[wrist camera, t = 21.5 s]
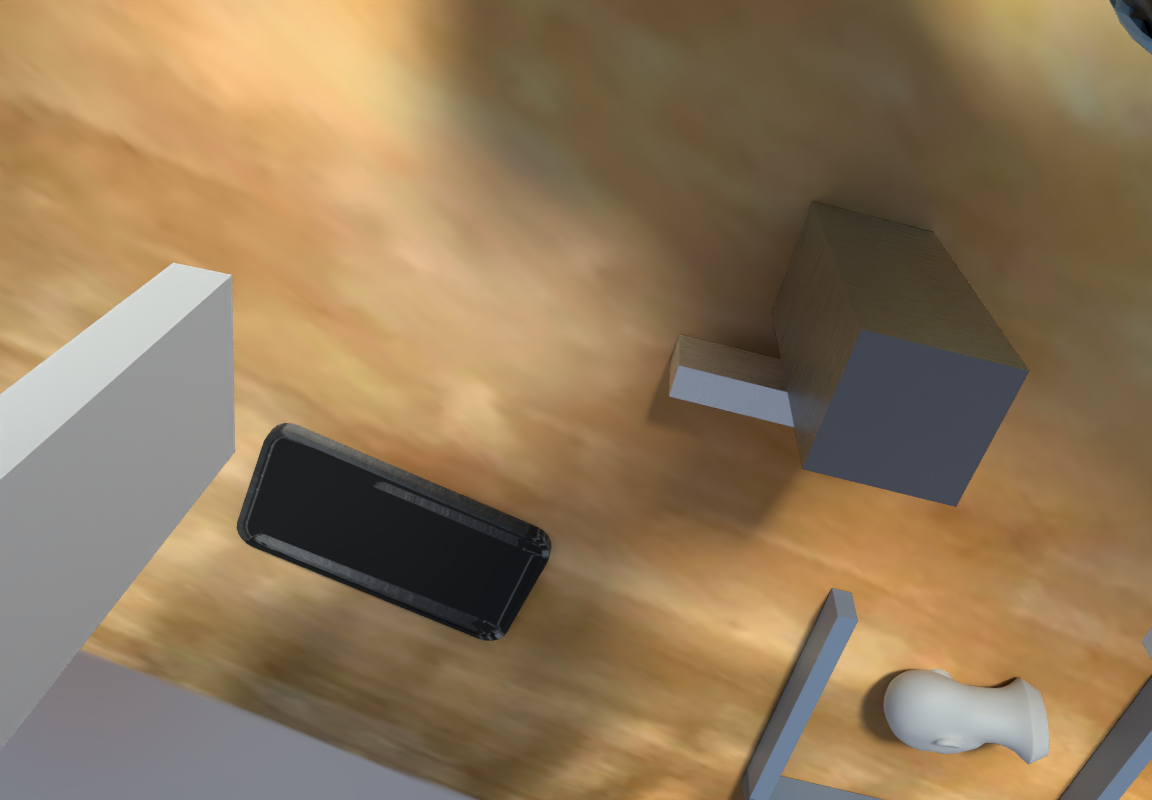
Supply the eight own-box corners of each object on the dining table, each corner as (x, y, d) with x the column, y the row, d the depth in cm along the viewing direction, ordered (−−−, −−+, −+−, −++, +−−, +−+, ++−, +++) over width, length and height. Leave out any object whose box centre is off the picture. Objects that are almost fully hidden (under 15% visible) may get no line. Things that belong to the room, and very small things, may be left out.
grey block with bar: (727, 179, 37) (743, 299, 27) (1017, 253, 37) (1145, 400, 27) (670, 363, 41) (664, 528, 31) (931, 428, 41) (1012, 613, 31)
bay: (832, 588, 46) (837, 615, 45) (1179, 670, 47) (1198, 701, 45) (742, 779, 54) (744, 809, 52) (1041, 848, 54) (1053, 881, 52)
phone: (498, 646, 50) (231, 538, 48) (502, 631, 51) (240, 525, 49) (557, 543, 46) (270, 422, 44) (560, 530, 47) (279, 410, 45)
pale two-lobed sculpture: (865, 685, 51) (897, 641, 47) (1011, 712, 51) (1055, 670, 47) (869, 762, 48) (904, 722, 44) (1024, 792, 48) (1072, 754, 44)
